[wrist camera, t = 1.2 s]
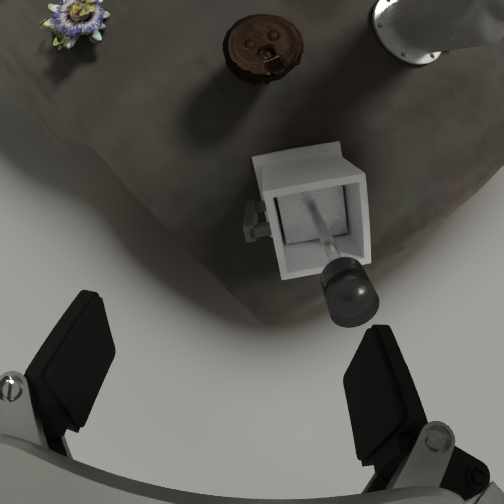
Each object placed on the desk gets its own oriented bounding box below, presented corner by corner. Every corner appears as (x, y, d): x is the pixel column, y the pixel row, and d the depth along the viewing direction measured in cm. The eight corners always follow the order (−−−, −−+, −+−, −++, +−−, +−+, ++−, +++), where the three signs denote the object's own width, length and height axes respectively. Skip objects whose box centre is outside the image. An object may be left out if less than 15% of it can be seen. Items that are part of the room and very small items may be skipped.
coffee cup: (283, 97, 37) (293, 93, 26) (225, 84, 37) (211, 75, 25) (297, 43, 33) (313, 19, 22) (240, 30, 33) (231, 2, 21)
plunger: (338, 170, 34) (412, 245, 17) (345, 230, 38) (403, 335, 21) (273, 182, 35) (287, 269, 18) (286, 241, 39) (303, 357, 22)
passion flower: (119, 22, 35) (116, 35, 29) (67, 55, 35) (54, 76, 29) (94, -23, 25) (83, -22, 19) (40, 13, 25) (18, 26, 20)
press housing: (338, 141, 40) (374, 160, 27) (348, 220, 46) (380, 269, 33) (238, 159, 42) (228, 187, 29) (257, 237, 48) (256, 293, 35)
